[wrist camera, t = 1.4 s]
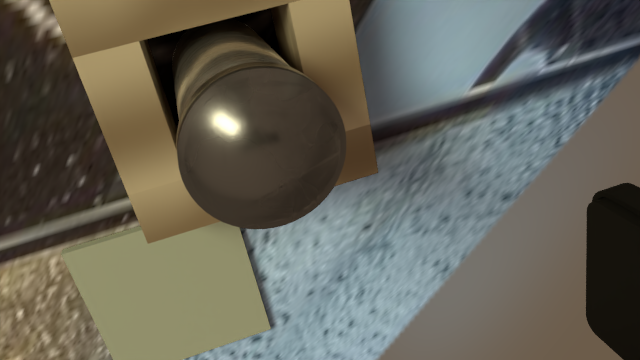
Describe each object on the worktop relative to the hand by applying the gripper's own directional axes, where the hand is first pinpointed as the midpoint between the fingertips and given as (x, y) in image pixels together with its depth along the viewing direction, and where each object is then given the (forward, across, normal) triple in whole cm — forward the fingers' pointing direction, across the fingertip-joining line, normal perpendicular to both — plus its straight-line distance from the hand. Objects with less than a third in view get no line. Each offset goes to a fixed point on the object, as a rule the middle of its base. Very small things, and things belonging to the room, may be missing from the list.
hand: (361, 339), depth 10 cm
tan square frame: (+20, 0, -1) cm, 20 cm away
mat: (+21, +6, +11) cm, 24 cm away
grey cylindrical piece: (+20, 0, -1) cm, 20 cm away
